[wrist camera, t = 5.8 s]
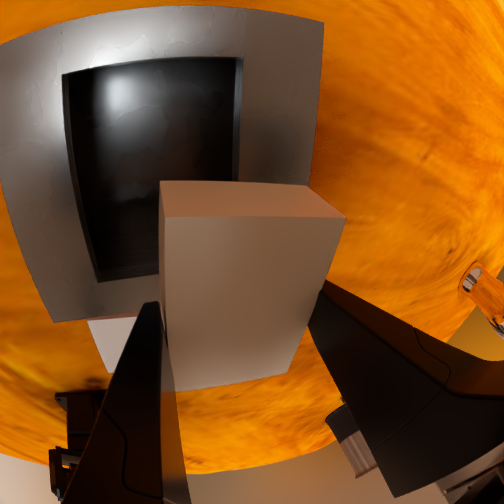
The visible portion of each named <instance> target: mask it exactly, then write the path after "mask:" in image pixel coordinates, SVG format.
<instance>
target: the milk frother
mask: <svg viewBox="0 0 504 504" xmlns="http://www.w3.org/2000/svg"><path fill="white" fill-rule="evenodd" d="M342 402H343V403H344V404H345V405H344V406H342V407H340V408H339V409H337V410H336V411H334V412H333V413H332V414H330V415H329V416H328V417H327V418H326V420H325V422H326V423H327V424H328V425H329V427H330V428H331V430H332V432H333V433H334V435H335V437H336V438H337V440H338V442H339V444H340V445H341V447H342V449H343V451H344V453H345V455H346V457H347V458H348V460H349V462H350V464H351V466H352V467H353V469H354V471H355V473H356V478H359V477H361V476H363V475H365V474H367V473H368V472H370V471H372V470H374V469H375V468H377V467H378V465H377V463H376V461H375V459H374V457H373V455H372V454H371V451H370V449H369V447H368V445H367V443H366V441H365V440H364V438H363V436H362V434H361V432H360V430H359V428H358V426H357V424H356V422H355V420H354V418H353V416H352V414H351V412H350V411H349V409H348V407H347V405H346V403H345V401H344V399H342Z"/></svg>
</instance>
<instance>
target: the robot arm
mask: <svg viewBox="0 0 504 504" xmlns="http://www.w3.org/2000/svg"><path fill="white" fill-rule="evenodd" d="M307 326H308V328H309V331H310V333H311V336H312V338H313V341H314V343H315V345H316V347H317V350H318V352H319V353H320V355H321V357H322V359H323V361H324V363H325V365H326V367H327V369H328V370H329V372H330V374H331V376H332V378H333V380H334V382H335V384H336V386H337V388H338V389H339V391H340V393H341V395H342V397H343V399H344V401H345V403H346V405H347V407H348V409H349V411H350V412H351V414H352V416H353V418H354V420H355V422H356V424H357V426H358V428H359V430H360V432H361V434H362V436H363V438H364V440H365V441H366V443H367V445H368V447H369V449H370V451H371V454H372V455H373V457H374V459H375V461H376V463H377V465H378V467H379V469H380V471H381V473H382V475H383V477H384V479H385V481H386V483H387V485H388V487H389V489H390V491H391V493H392V495H393V496H394V498H396V497H400V496H402V495H405V494H407V493H410V492H412V491H415V490H417V489H420V488H422V487H425V486H427V485H429V484H431V483H433V482H434V483H435V485H436V486H437V488H438V490H439V491H440V493H441V495H442V496H445V498H446V499H447V501H448V502H449V504H504V360H503V361H487V360H483V359H480V358H478V357H476V356H474V355H471V354H469V353H467V352H464V351H462V350H460V349H458V348H455V347H453V346H451V345H449V344H447V343H445V342H442V341H440V340H438V339H436V338H434V337H432V336H430V335H428V334H426V333H425V332H423V331H421V330H419V329H417V328H415V327H413V326H412V325H410V324H408V323H406V322H404V321H402V320H400V319H399V318H397V317H395V316H393V315H391V314H389V313H387V312H386V311H384V310H382V309H380V308H378V307H376V306H374V305H373V304H371V303H369V302H367V301H365V300H363V299H361V298H359V297H358V296H356V295H354V294H352V293H350V292H348V291H346V290H344V289H343V288H341V287H339V286H337V285H335V284H333V283H331V282H329V281H328V280H326V279H325V281H324V284H323V287H322V289H321V290H320V291H319V293H318V297H317V300H316V304H315V307H314V310H313V312H312V315H311V317H310V319H309V322H308V324H307ZM55 400H56V401H57V402H58V403H59V405H60V406H61V407H62V408H63V409H64V410H65V411H66V412H67V443H68V449H65V448H61V447H59V446H56V449H50V450H49V468H50V483H51V491H52V492H53V493H54V494H55V495H56V496H57V497H58V501H60V502H61V504H192V503H191V498H190V493H189V489H188V482H187V477H186V471H185V465H184V459H183V452H182V445H181V438H180V431H179V423H178V414H177V405H176V395H175V385H174V377H173V371H172V366H171V361H170V356H169V352H168V347H167V341H166V335H165V329H164V324H163V319H162V314H161V309H160V304H159V302H158V301H151V302H145V303H144V304H143V305H142V307H141V310H140V312H139V314H138V316H137V318H136V321H135V323H134V325H133V327H132V330H131V332H130V334H129V337H128V339H127V341H126V344H125V346H124V349H123V351H122V353H121V356H120V358H119V361H118V363H117V366H116V368H115V371H114V373H113V376H112V378H111V381H110V384H109V386H108V389H107V391H98V392H85V393H68V394H55ZM62 465H66V466H69V469H68V468H63V467H62Z"/></svg>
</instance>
